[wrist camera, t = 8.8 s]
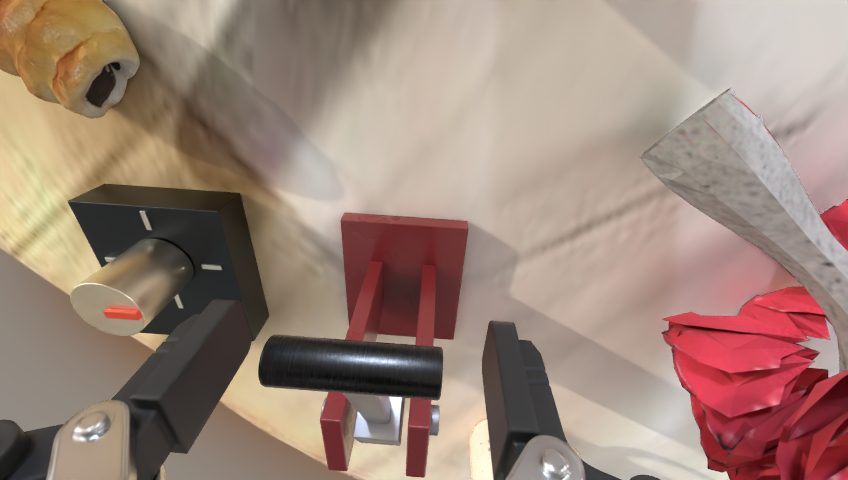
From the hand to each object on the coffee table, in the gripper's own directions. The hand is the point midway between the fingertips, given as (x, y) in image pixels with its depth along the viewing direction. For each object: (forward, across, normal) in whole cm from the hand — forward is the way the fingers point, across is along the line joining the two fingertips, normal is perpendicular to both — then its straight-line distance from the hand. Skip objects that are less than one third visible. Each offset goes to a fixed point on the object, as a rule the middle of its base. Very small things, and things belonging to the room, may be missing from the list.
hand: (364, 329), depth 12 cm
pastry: (+15, +20, -7) cm, 26 cm away
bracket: (+15, 0, +9) cm, 17 cm away
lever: (+2, 0, +4) cm, 5 cm away
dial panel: (+15, +17, +8) cm, 24 cm away
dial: (+12, +17, +7) cm, 22 cm away
